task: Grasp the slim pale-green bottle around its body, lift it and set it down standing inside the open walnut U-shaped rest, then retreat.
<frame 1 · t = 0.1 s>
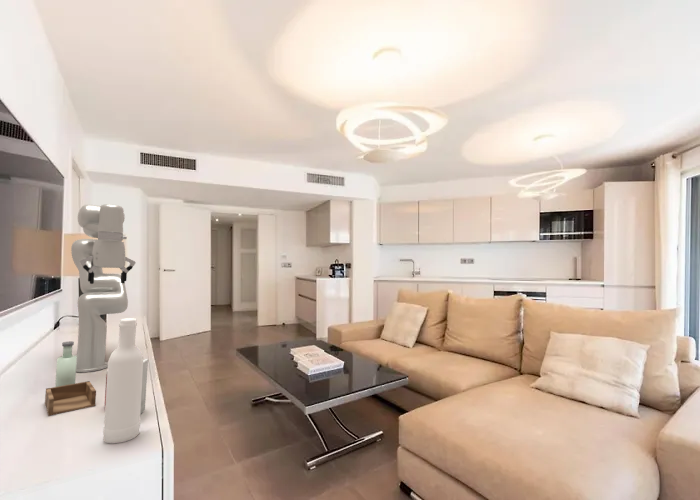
hand: (107, 283, 129), 37 cm above the sideboard, tool pointing down, fingers open, 9 cm apart
canned food: (119, 406, 108), on the sideboard
bottle: (64, 393, 116), on the sideboard
skincare box: (128, 417, 100), on the sideboard
u rest: (69, 404, 107), on the sideboard
bottle 2: (121, 436, 89), on the sideboard
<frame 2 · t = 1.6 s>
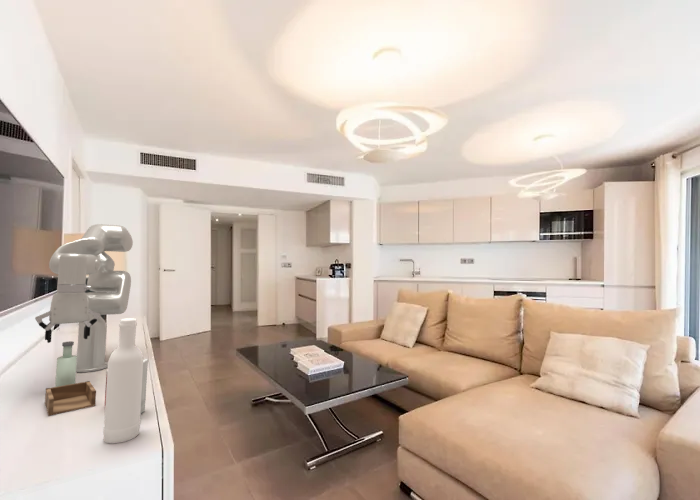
hand: (67, 340, 117), 18 cm above the sideboard, tool pointing down, fingers open, 9 cm apart
nothing on the sideboard moved.
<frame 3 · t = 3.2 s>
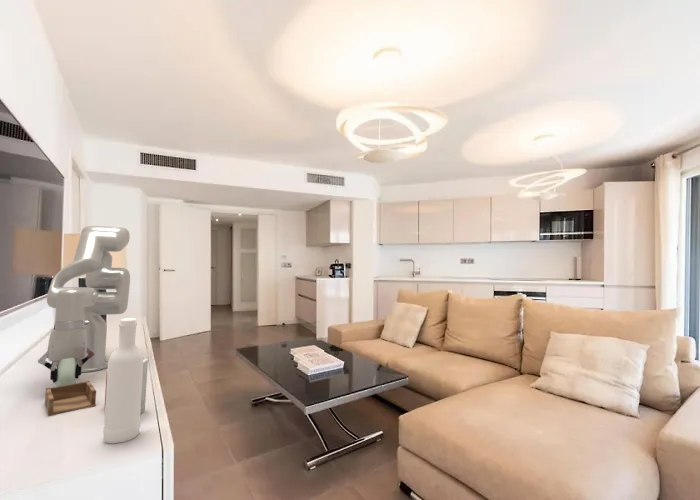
hand: (65, 379, 117), 5 cm above the sideboard, tool pointing down, fingers closed on bottle, 5 cm apart
bottle: (64, 393, 116), on the sideboard, touching gripper
everything else where it was.
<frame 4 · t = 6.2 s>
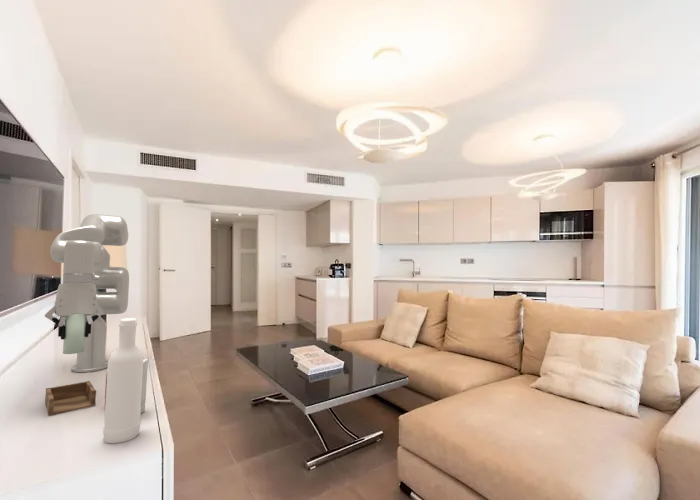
hand: (74, 336, 108), 21 cm above the sideboard, tool pointing down, fingers closed on bottle, 5 cm apart
bottle: (73, 352, 108), point 16 cm above the sideboard, touching gripper
everything else where it was.
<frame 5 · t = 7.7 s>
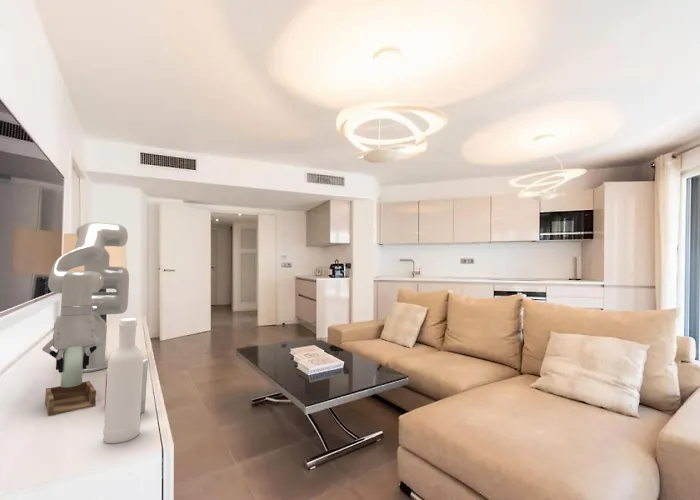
hand: (72, 369, 107), 11 cm above the sideboard, tool pointing down, fingers closed on bottle, 5 cm apart
bottle: (71, 384, 107), point 6 cm above the sideboard, touching gripper
everything else where it was.
when the fingers open (7 cm above the sideboard, at t = 9.0 s): bottle drops 1 cm, resting on u rest.
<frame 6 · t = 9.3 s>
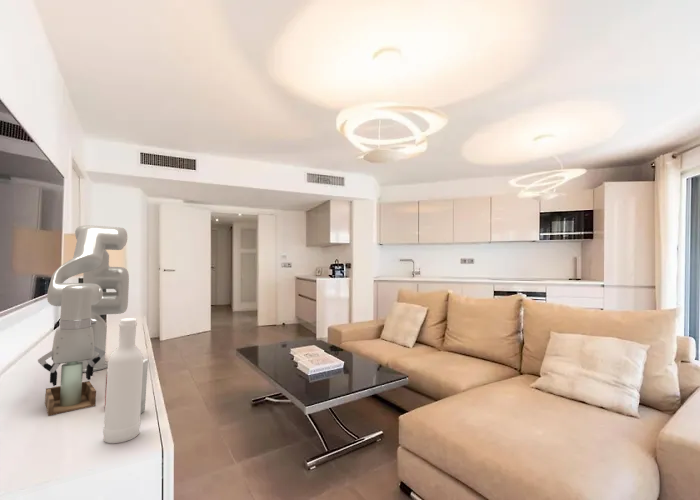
hand: (71, 381, 107), 7 cm above the sideboard, tool pointing down, fingers open, 7 cm apart
bottle: (70, 402, 107), point 1 cm above the sideboard, touching u rest
everything else where it was.
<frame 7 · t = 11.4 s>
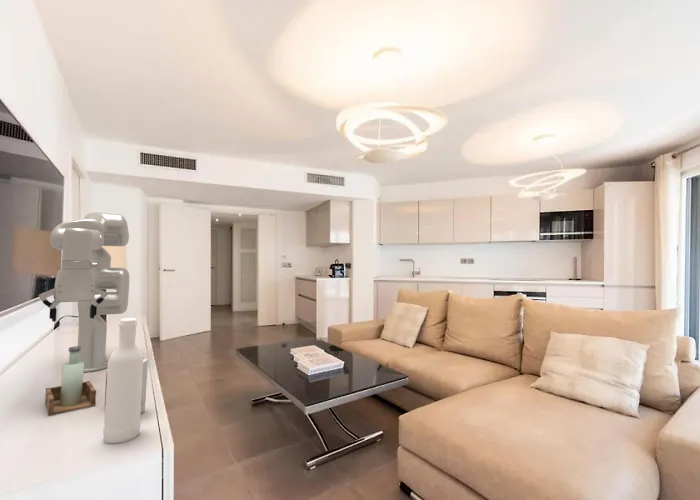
hand: (73, 319, 111), 26 cm above the sideboard, tool pointing down, fingers open, 9 cm apart
nothing on the sideboard moved.
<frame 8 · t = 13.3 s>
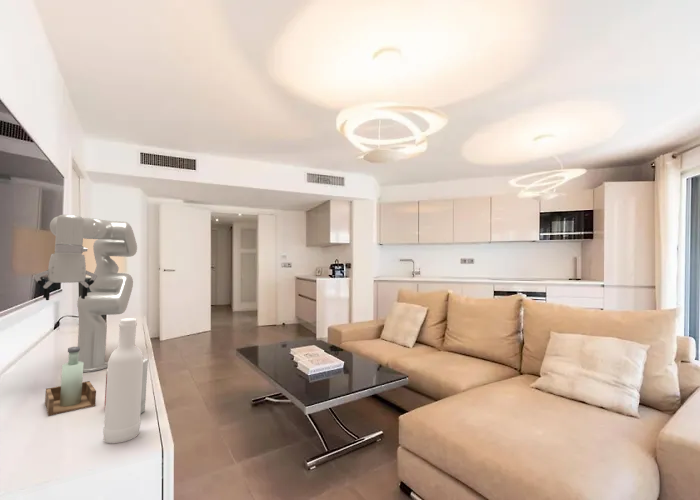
hand: (65, 299, 120), 31 cm above the sideboard, tool pointing down, fingers open, 9 cm apart
nothing on the sideboard moved.
at the end: bottle inside the target area on the u rest (0.1 cm from its centre), point 0.7 cm above the u rest's base; bottle tilted 2°; the gripper is holding nothing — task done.
